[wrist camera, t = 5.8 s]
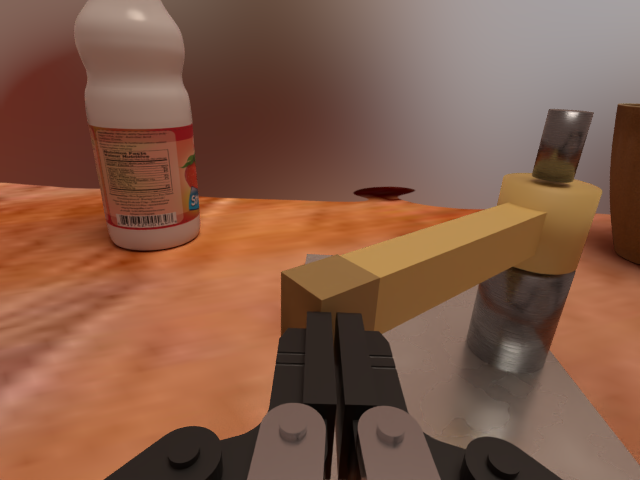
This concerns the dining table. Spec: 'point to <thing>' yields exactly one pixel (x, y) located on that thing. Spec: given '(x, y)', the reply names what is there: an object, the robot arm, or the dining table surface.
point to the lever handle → (447, 256)
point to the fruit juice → (139, 122)
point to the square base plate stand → (508, 355)
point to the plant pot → (626, 182)
